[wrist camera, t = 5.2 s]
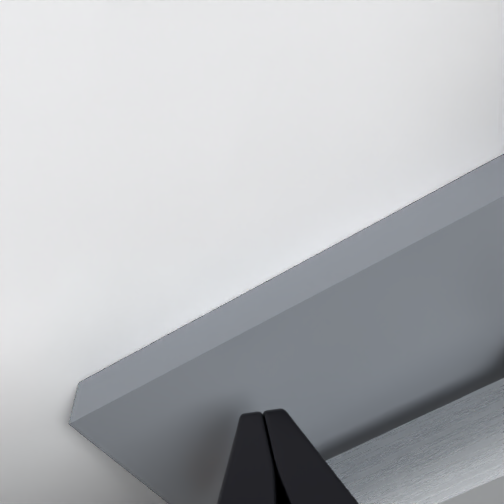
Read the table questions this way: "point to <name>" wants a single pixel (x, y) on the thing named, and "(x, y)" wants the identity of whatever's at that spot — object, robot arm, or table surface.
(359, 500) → the peg lever
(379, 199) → the table surface
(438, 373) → the tuner board
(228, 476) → the robot arm
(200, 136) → the table surface
